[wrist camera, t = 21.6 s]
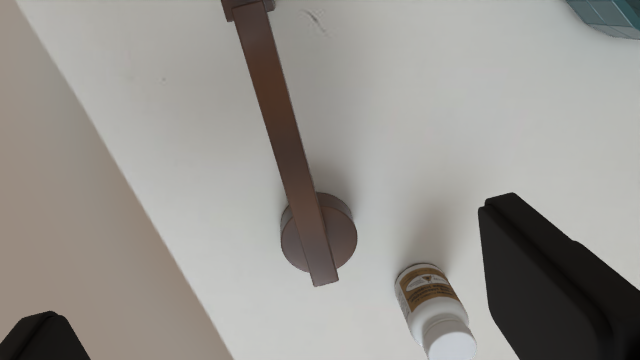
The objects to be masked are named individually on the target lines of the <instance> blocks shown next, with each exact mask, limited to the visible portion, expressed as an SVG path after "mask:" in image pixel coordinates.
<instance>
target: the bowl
mask: <svg viewBox="0 0 640 360" xmlns="http://www.w3.org/2000/svg"><path fill="white" fill-rule="evenodd" d="M566 1H567V3H568V4H569V5H570V6H571V7H572V8H573V10H574V11H575V12H576V13H577V14H578V16H579V17H580V18H581V19H582V20H583V22H584V23H586V24H587V25H589V26H591V27H593V28H595V29H597V30H599V31H601V32H603V33H605V34H607V35H609V36H612V37H618V38H627V39H636V40H640V0H566Z"/></svg>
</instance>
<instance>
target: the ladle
mask: <svg viewBox="0 0 640 360" xmlns="http://www.w3.org/2000/svg"><path fill="white" fill-rule="evenodd" d="M221 3H222V6H223V10H224V13H225V16H226V19H227V22H232V21H234V23H235V26H236V29H237V33H238V36H239V39H240V43H241V46H242V49H243V53H244V56H245V59H246V63H247V66H248V69H249V73H250V76H251V79H252V82H253V86H254V89H255V92H256V96H257V99H258V102H259V106H260V109H261V112H262V116H263V119H264V122H265V126H266V129H267V132H268V136H269V139H270V142H271V146H272V149H273V152H274V156H275V159H276V162H277V166H278V169H279V172H280V176H281V179H282V182H283V186H284V189H285V192H286V196H287V199H288V202H289V206H288V207H287V209H286V210H285V212H284V214H283V216H282V220H281V248H282V251H283V254H284V255H285V257H286V259H287V260H288V261H289V262H290V263H291V264H292V265H293V266H295V267H296V268H298V269H300V270H302V271H305V272H309V273H310V275H311V279H312V282H313V285H314V287H317V286H322V285H325V284H329V283H333V282H336V281H338V280H339V278H338V273H337V268H339V267H341V266H342V265H343V264H345V263H346V262H347V261H348V260H349V259H350V257H351V256H352V254H353V253H354V251H355V248H356V245H357V230H356V227H355V224H354V221H353V218H352V215H351V213H350V211H349V209H348V207H347V206H346V205H345V204H344V203H343V202H342V201H341V200H340V199H338V198H336V197H334V196H332V195H329V194H324V193H316V191H315V187H314V184H313V180H312V176H311V173H310V169H309V165H308V161H307V158H306V154H305V150H304V147H303V143H302V139H301V136H300V132H299V128H298V124H297V121H296V117H295V113H294V110H293V106H292V102H291V99H290V95H289V91H288V88H287V84H286V80H285V76H284V73H283V69H282V65H281V62H280V58H279V54H278V51H277V47H276V43H275V40H274V36H273V32H272V28H271V25H270V21H269V17H268V14H267V12H270V11H273V10H274V9H275V3H274V0H221Z"/></svg>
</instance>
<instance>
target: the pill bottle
mask: <svg viewBox="0 0 640 360" xmlns="http://www.w3.org/2000/svg"><path fill="white" fill-rule="evenodd" d="M395 294H396V297H397V299H398V302H399V305H400V307H401V310H402V312H403V315H404V317H405V319H406V322H407V325H408V328H409V330H410V332H411V335H412V337H413V338H414V340H415V341H416V342H417V343H418V344H419V345H420V346H422V347H423V348H424V351H425V353H426V355H427V357H428V359H429V360H472V359H473V357H474V356H475V354H476V350H477V344H476V341H475V339H474V337H473V335H472V333H471V331H470V329H469V328H468V325H469V319H468V315H467V312H466V310H465V309H464V307H463V305H462V303H461V302H460V300H459V298H458V297H457V295H456V293H455V292H454V290H453V288H452V287H451V285H450V283H449V282H448V280H447V278H446V277H445V275H444V273H443V272H442V271H441V270H440V269H439V268H437V267H435V266H433V265H429V264H419V265H415V266H412V267H410V268H408V269H406V270H405V271H404V272H403V273H402V274H401V275H400V276H399V277H398V279H397V281H396V285H395Z"/></svg>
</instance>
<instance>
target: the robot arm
mask: <svg viewBox="0 0 640 360" xmlns="http://www.w3.org/2000/svg"><path fill="white" fill-rule="evenodd" d="M478 219H479V228H480V237H481V246H482V254H483V263H484V272H485V281H486V290H487V298H488V306H489V310H490V313H491V316H492V318H493V320H494V322H495V323H496V325H497V326H498V328H499V329H500V331H501V332H502V334H503V335H504V337H505V338H506V340H507V341H508V343H509V344H510V346H511V347H512V349H513V350H514V352H515V353H516V355H517V356H518V358H519V359H520V360H640V291H639V290H638V289H637V288H636V287H634V286H633V285H632V284H631V283H629V282H628V281H627V280H626V279H624V278H623V277H622V276H621V275H619V274H618V273H617V272H616V271H614V270H613V269H612V268H611V267H610V266H608V265H607V264H606V263H605V262H603V261H602V260H601V259H600V258H598V257H597V256H596V255H595V254H593V253H592V252H591V251H590V250H589V249H587V248H586V247H585V246H584V245H582V244H581V243H579V242H577V241H573V240H571V239H570V238H569V237H568V236H567V235H565V234H564V233H563V232H562V231H560V230H559V229H558V228H557V227H556V226H554V225H553V224H552V223H551V222H549V221H548V220H547V219H546V218H545V217H543V216H542V215H541V214H540V213H539V212H537V211H536V210H535V209H534V208H532V207H531V206H530V205H529V204H528V203H526V202H525V201H524V200H523V199H521V198H520V197H519V196H518V195H517V194H515V193H513V192H512V193H507V194H503V195H499V196H495V197H492V198H488V199H486V200H485V206H483V207H479V209H478ZM0 360H91V359H90V358H89V356H88V354H87V353H86V351H85V349H84V347H83V346H82V345H81V342H80V341H79V339H78V337H77V336H76V334H75V332H74V331H73V329H72V327H71V325H70V324H69V322H68V320H67V319H66V318H65V317H64V316H62V315H58V314H57V313H55V312H53V311H47V312H43V313H39V314H35V315H31V316H28V317H24V318H22V319H21V320H20V321H18V323H17V324H16V325H15V326H14V328H13V329H12V330H11V331H10V332H9V334H8V335H7V336H6V337H5V339H4V340H3V341H2V342H1V344H0Z"/></svg>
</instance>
